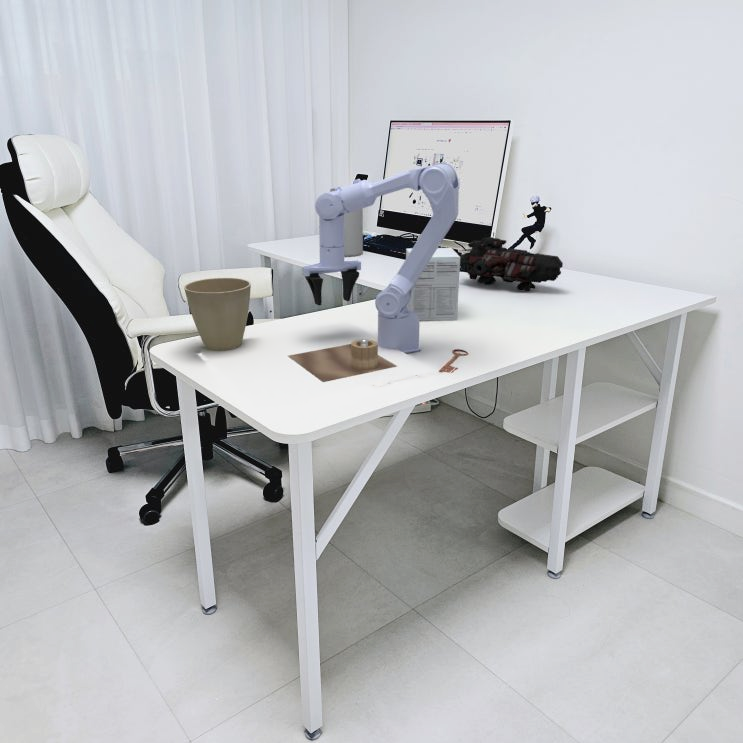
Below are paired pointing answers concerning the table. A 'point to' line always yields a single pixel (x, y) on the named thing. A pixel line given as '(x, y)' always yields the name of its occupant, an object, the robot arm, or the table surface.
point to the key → (447, 366)
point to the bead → (364, 355)
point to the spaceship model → (508, 264)
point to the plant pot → (219, 310)
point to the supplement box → (437, 287)
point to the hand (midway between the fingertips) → (332, 302)
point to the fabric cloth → (334, 363)
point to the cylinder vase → (353, 233)
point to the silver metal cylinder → (364, 342)
